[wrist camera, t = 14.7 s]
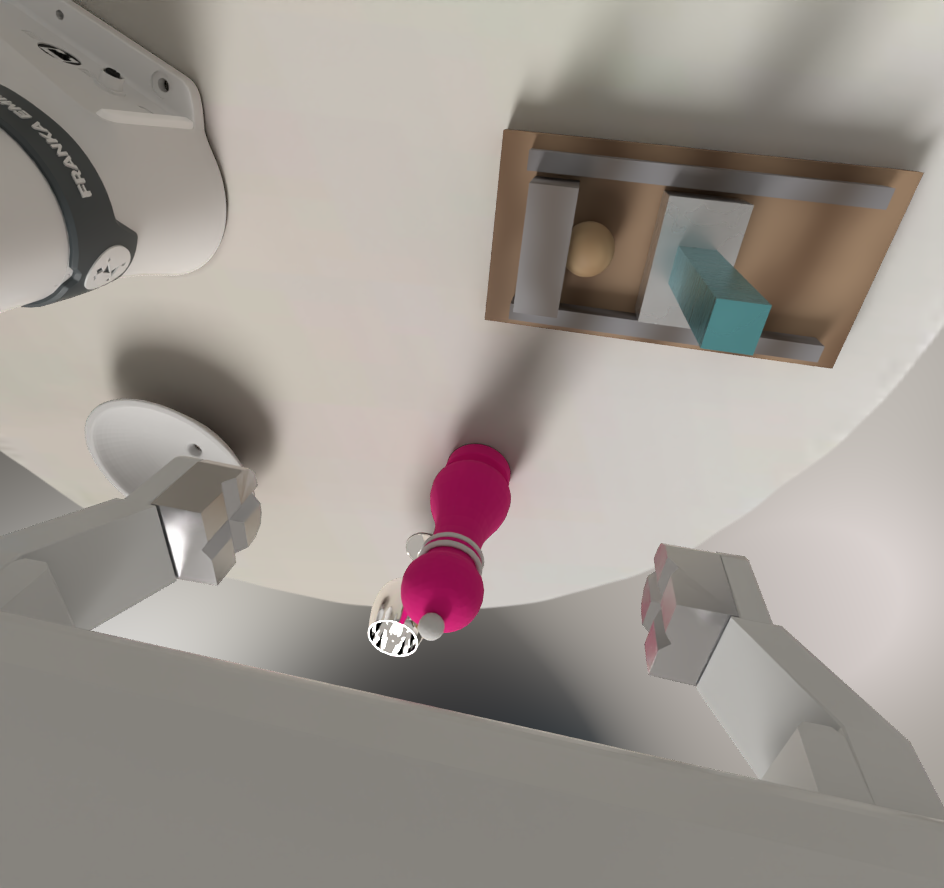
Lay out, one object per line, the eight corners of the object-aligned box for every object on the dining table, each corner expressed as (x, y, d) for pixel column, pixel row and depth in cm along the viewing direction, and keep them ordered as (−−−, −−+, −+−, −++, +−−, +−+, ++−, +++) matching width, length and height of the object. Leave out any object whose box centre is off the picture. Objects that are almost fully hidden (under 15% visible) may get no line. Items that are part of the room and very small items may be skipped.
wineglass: (458, 540, 58) (430, 630, 48) (443, 576, 61) (415, 667, 51) (406, 521, 58) (368, 607, 48) (395, 558, 61) (356, 646, 51)
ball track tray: (488, 312, 45) (473, 341, 39) (507, 129, 38) (492, 131, 32) (822, 358, 42) (861, 398, 36) (907, 170, 35) (972, 180, 29)
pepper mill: (515, 440, 50) (479, 603, 33) (516, 503, 54) (484, 679, 37) (439, 436, 52) (367, 592, 35) (445, 498, 55) (383, 666, 38)
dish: (296, 438, 55) (272, 464, 50) (257, 527, 62) (233, 557, 58) (132, 347, 53) (92, 367, 48) (112, 451, 60) (77, 477, 56)
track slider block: (634, 308, 40) (657, 396, 27) (663, 190, 36) (706, 229, 23) (704, 318, 40) (760, 412, 27) (742, 199, 35) (829, 244, 23)
